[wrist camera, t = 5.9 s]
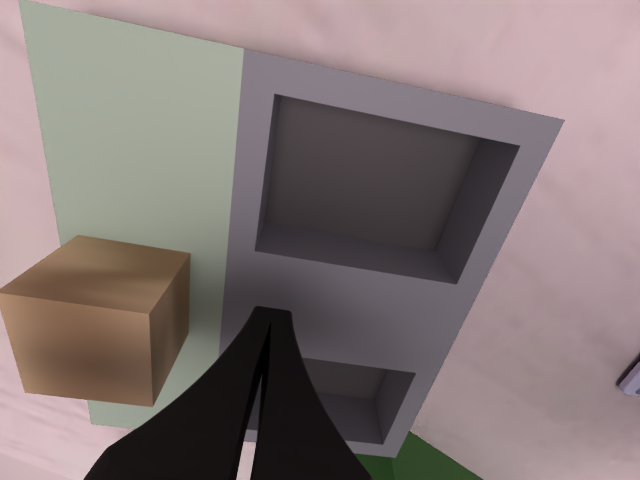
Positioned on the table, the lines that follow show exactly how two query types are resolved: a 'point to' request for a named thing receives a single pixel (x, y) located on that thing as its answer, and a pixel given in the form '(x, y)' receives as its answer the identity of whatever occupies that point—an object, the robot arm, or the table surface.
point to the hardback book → (415, 463)
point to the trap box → (284, 202)
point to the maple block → (99, 320)
